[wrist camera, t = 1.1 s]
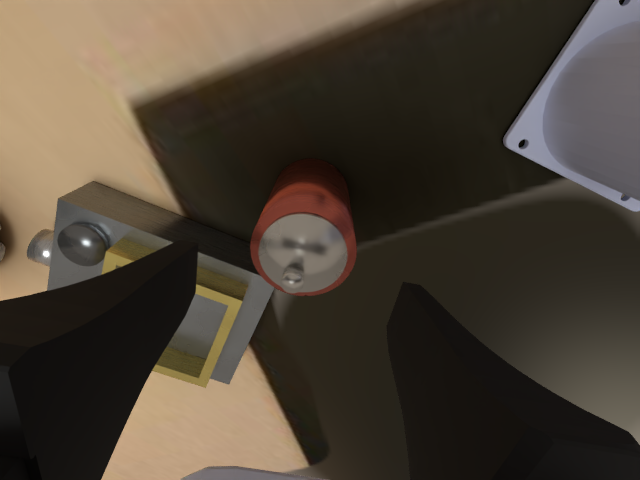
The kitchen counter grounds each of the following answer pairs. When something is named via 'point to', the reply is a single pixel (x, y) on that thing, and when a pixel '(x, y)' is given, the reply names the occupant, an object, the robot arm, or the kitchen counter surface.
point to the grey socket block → (143, 239)
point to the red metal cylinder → (305, 230)
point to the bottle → (2, 249)
